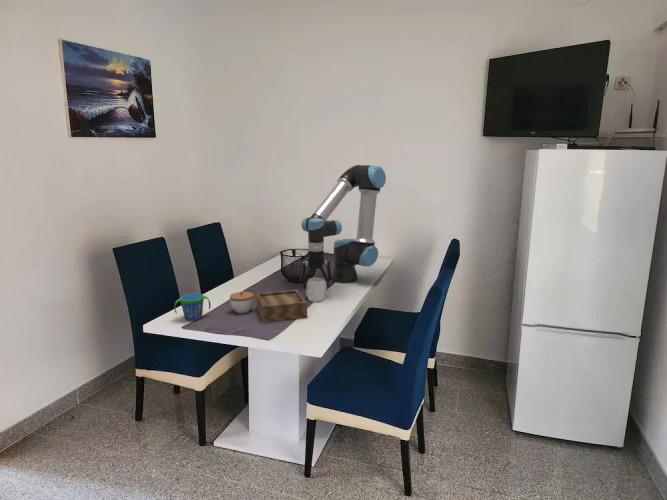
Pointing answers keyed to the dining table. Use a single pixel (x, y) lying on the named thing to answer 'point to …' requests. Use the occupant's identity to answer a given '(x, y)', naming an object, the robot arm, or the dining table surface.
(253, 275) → the dining table surface
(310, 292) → the mug
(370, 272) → the dining table surface
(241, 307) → the lidded jar
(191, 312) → the snack cup
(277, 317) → the walnut box
